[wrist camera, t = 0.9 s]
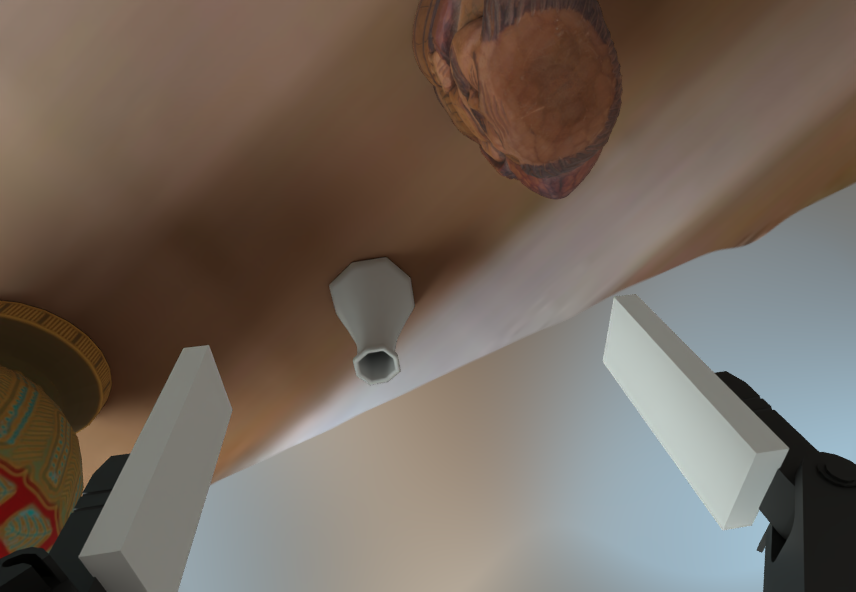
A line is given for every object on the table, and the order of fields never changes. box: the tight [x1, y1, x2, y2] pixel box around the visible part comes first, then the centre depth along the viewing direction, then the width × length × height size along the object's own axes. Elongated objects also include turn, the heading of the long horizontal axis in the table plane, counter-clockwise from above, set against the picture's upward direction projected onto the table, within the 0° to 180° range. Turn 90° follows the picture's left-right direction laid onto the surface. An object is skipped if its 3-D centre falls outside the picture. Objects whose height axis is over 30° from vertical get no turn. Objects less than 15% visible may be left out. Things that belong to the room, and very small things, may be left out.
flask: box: [329, 257, 415, 385], centre depth 37 cm, size 7×7×10 cm
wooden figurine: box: [412, 0, 622, 199], centre depth 25 cm, size 12×6×18 cm, turn 30°
